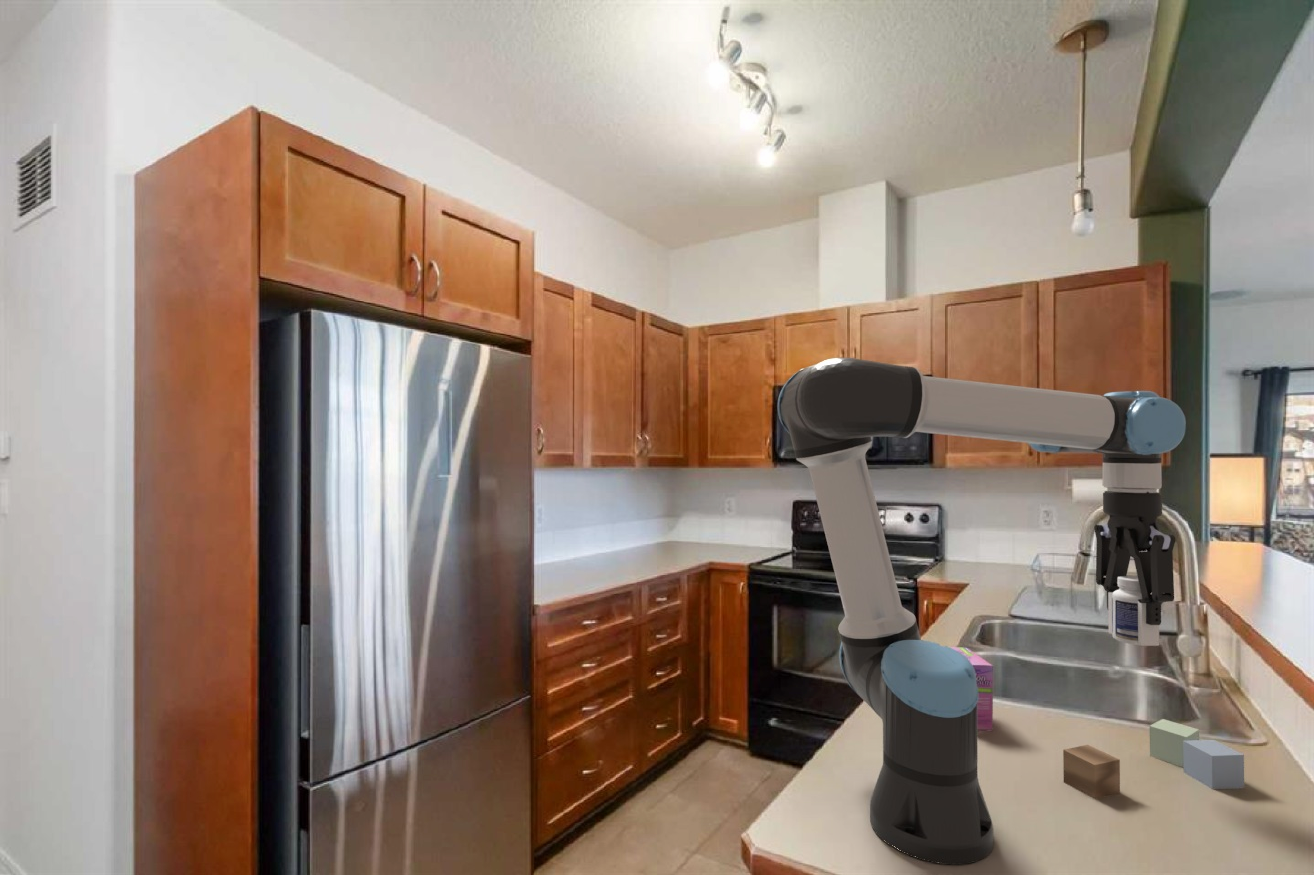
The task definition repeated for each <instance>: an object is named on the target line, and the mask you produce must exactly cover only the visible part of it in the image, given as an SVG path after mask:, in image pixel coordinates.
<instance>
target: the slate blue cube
mask: <svg viewBox="0 0 1314 875" xmlns="http://www.w3.org/2000/svg"><path fill="white" fill-rule="evenodd" d="M1182 768H1183V773H1184V774H1186V775H1187V776H1189V777H1191V778H1192V779H1194V780H1196V781H1198V782H1199V783H1201V784H1203V785H1205V786H1207V787H1208V788H1209V789H1211V790H1222V789H1223V790H1227V789H1245V755H1244V754H1243V753H1241V752H1239V751H1237V750H1235V749H1233V748H1231V747H1229V746H1227V745H1225V744H1223V743H1221V742H1219V741H1217V740H1215V739H1199V740H1188V741H1183V767H1182Z"/></svg>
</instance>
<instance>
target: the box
mask: <svg viewBox="0 0 1314 875" xmlns="http://www.w3.org/2000/svg"><path fill="white" fill-rule="evenodd" d="M949 647H950V648H952V649H954V650H956V651H958V652H959V653H961V654H962V655H964V656H965V657H966V658H967V659H968V660H969V661H970V662H971V664H972V665H973V667H974V670H975V673H976V682H977V686H978V694H979V696H978V702H977V732H979V731H984V732H985V731H993V726H994V725H993V719H994V718H993V714H994V712H993V711H994V709H993V708H994V706H993V705H994V701H993V700H994V665H993V664H991V663H990V662H988V661H987V660H985V659H984V658H982V657H981V656H980V655H978V654H977V653H975V652H974V651H972V650H971V649H970V648H968V647H963V646H961V647H959V646H954V647H953V646H949Z"/></svg>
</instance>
